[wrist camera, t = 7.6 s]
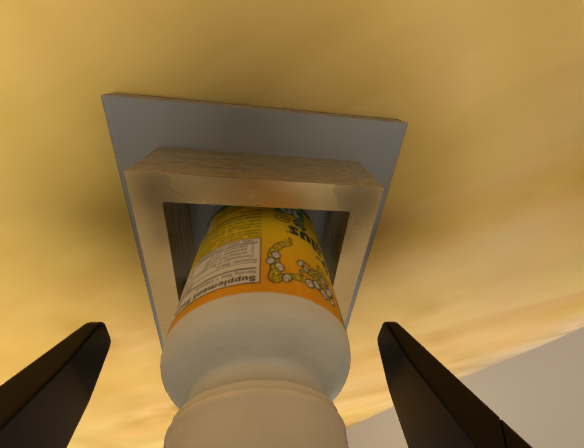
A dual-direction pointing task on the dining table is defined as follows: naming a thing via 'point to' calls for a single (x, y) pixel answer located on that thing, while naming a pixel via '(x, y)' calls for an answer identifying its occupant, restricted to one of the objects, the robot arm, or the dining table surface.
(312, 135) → the fitting board
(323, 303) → the supplement bottle
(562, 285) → the dining table surface
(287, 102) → the dining table surface
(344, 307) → the square wooden frame
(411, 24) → the dining table surface
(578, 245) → the dining table surface
